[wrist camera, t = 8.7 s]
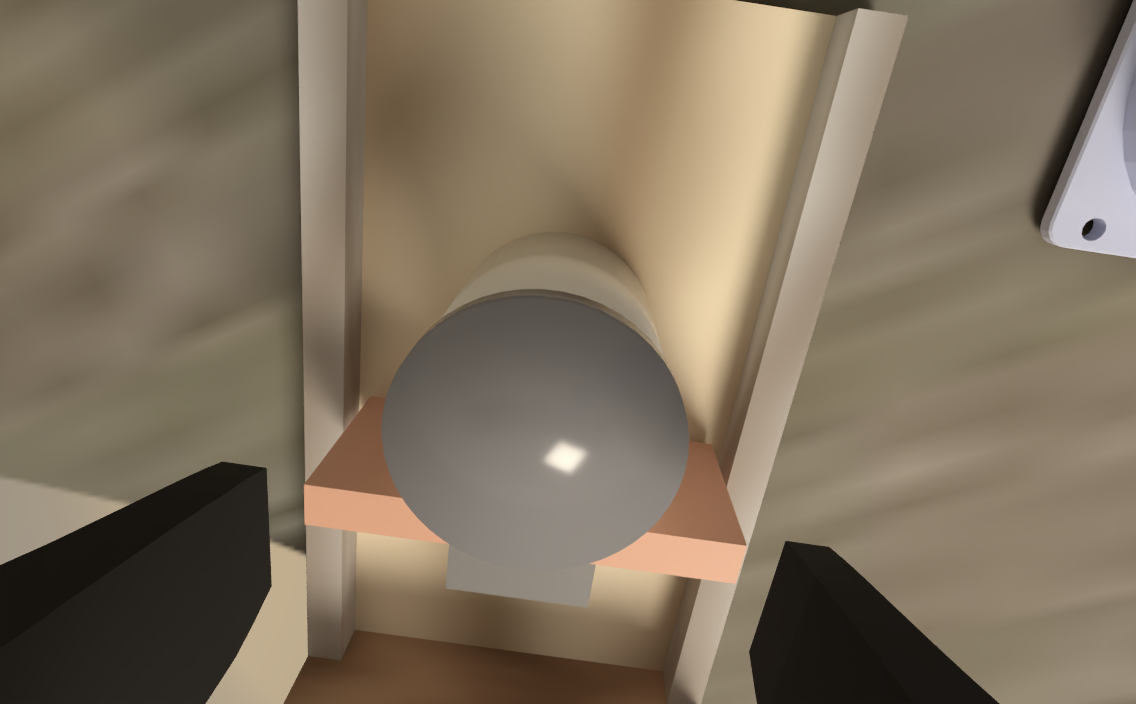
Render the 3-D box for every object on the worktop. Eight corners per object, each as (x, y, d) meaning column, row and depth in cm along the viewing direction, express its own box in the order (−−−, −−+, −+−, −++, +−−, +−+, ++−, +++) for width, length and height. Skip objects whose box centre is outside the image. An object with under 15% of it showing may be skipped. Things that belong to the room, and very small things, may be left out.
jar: (665, 234, 15) (708, 308, 10) (645, 424, 17) (671, 579, 12) (451, 221, 15) (371, 289, 10) (455, 413, 17) (390, 561, 12)
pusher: (711, 444, 17) (747, 546, 13) (674, 589, 19) (695, 716, 15) (370, 395, 17) (304, 484, 13) (366, 547, 19) (307, 665, 15)
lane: (876, 25, 14) (1013, -13, 9) (685, 689, 21) (710, 847, 17) (326, -61, 14) (196, -141, 9) (327, 641, 21) (255, 788, 16)
